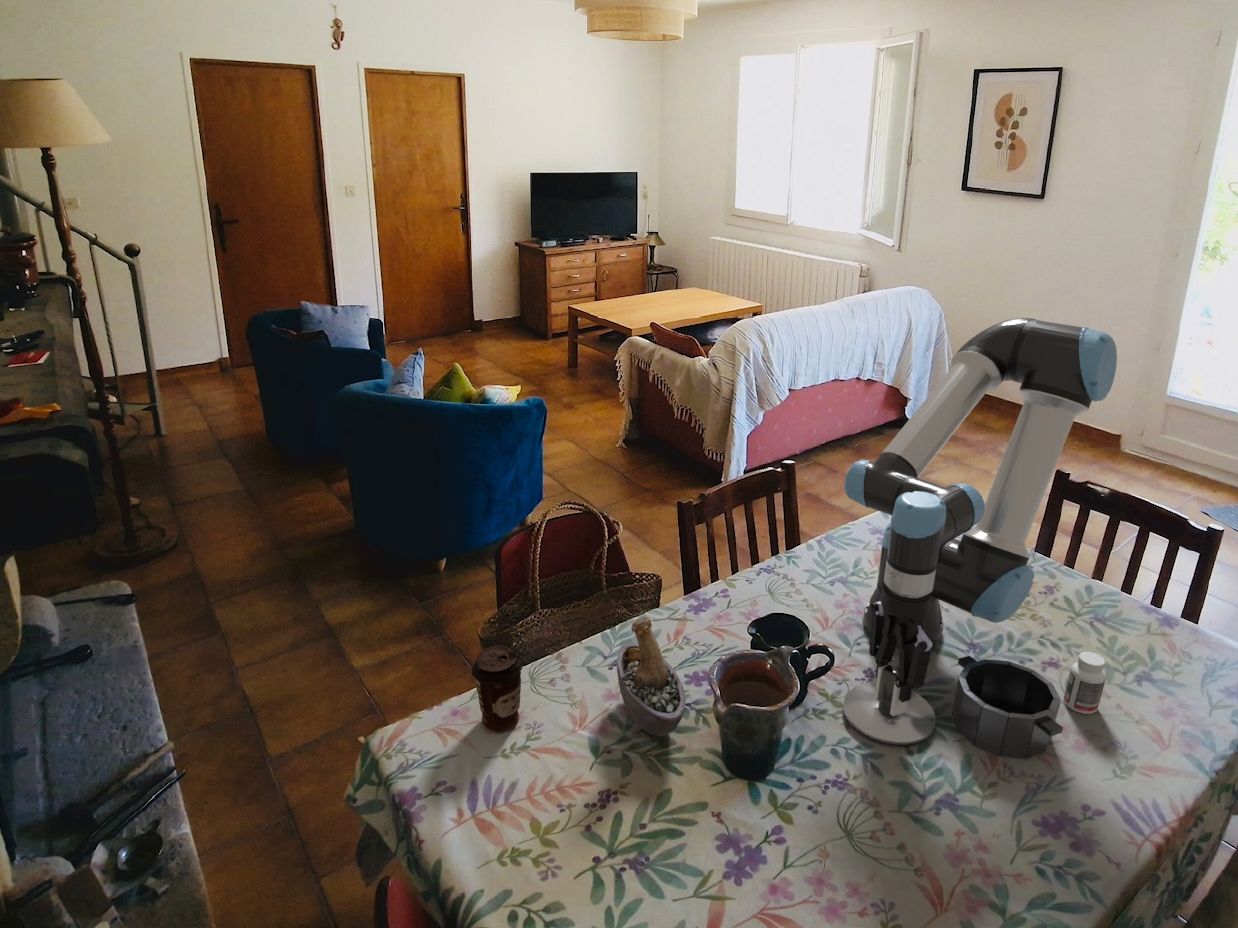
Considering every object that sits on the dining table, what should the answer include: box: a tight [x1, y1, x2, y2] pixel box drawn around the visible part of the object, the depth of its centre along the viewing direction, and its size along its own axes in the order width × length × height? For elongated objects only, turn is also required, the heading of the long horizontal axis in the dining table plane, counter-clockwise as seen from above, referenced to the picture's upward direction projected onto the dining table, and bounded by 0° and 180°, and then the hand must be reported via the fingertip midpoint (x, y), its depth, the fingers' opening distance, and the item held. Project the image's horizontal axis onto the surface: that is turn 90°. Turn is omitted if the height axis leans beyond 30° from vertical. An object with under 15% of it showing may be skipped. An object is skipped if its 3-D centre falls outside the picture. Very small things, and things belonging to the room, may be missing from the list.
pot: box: [951, 655, 1064, 760], centre depth 140 cm, size 20×15×8 cm
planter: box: [616, 616, 687, 737], centre depth 140 cm, size 15×17×20 cm
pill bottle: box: [1063, 651, 1107, 715], centre depth 145 cm, size 5×5×10 cm
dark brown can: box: [471, 644, 524, 734], centre depth 141 cm, size 9×8×13 cm
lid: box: [842, 664, 936, 746], centre depth 142 cm, size 15×15×10 cm
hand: (889, 704), depth 143 cm, fingers closed on lid, 3 cm apart
